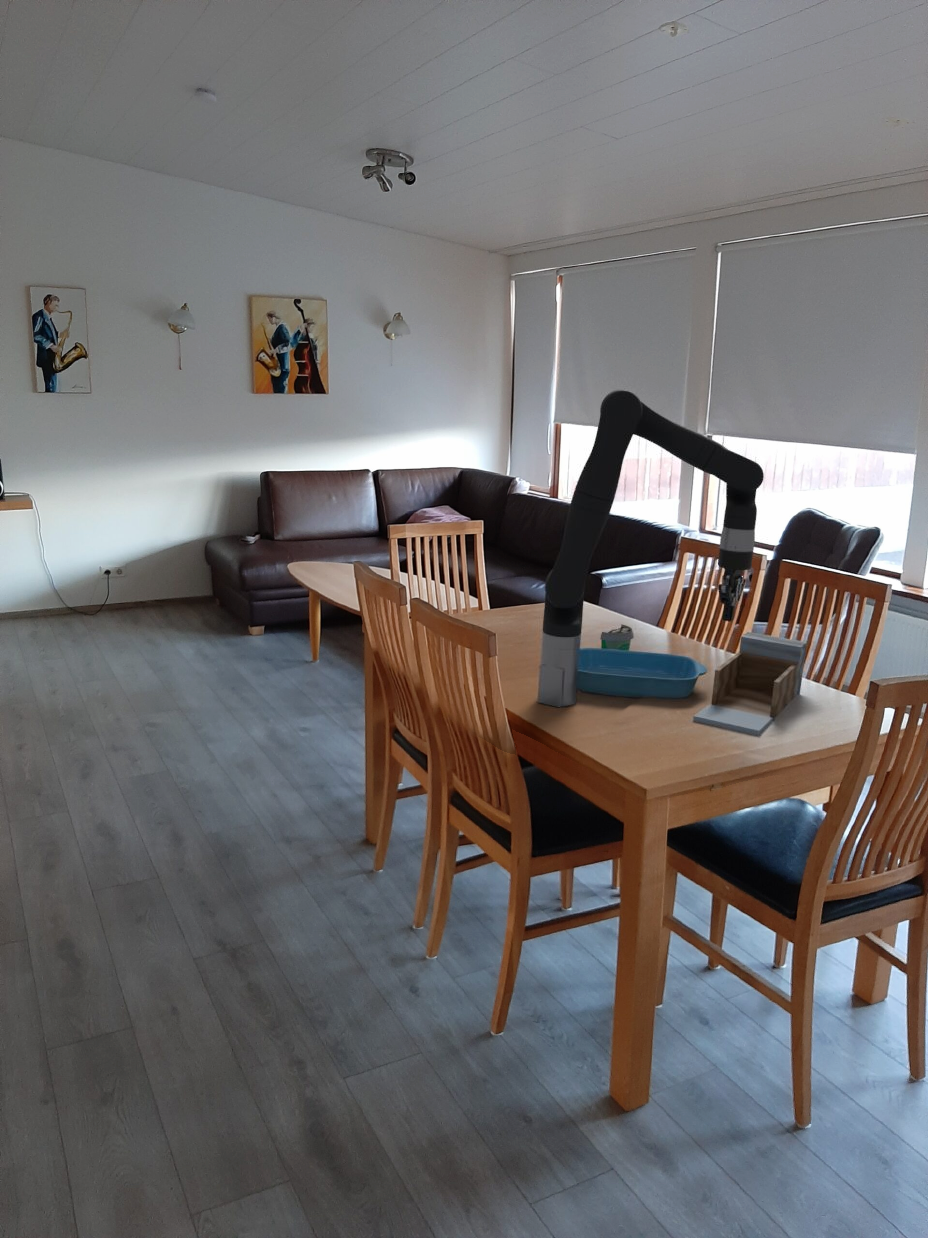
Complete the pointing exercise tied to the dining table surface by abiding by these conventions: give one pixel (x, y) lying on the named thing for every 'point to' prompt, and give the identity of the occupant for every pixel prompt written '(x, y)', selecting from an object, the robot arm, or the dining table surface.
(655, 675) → the casserole dish
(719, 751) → the dining table surface
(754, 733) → the panel
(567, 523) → the robot arm
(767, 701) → the box
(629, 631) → the food container
